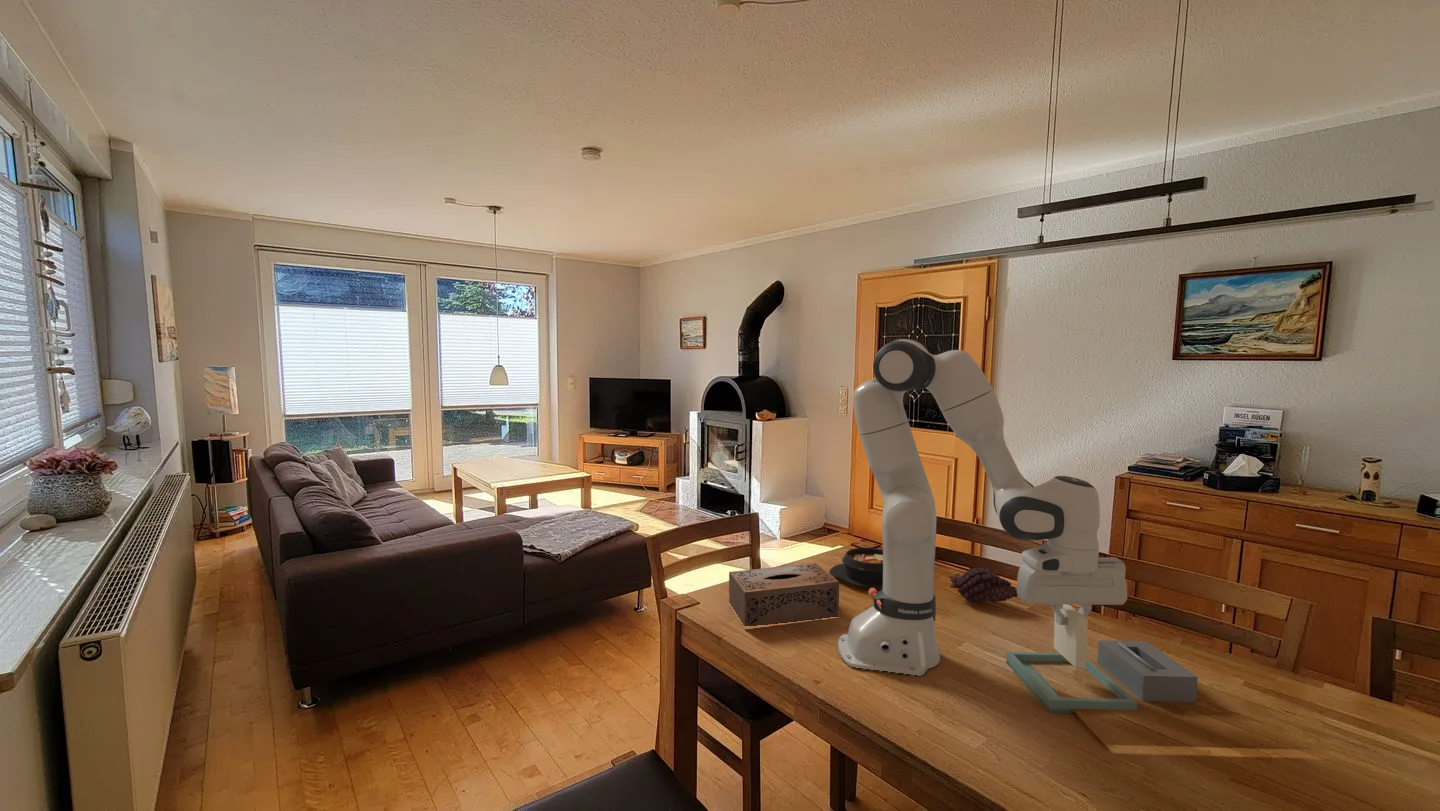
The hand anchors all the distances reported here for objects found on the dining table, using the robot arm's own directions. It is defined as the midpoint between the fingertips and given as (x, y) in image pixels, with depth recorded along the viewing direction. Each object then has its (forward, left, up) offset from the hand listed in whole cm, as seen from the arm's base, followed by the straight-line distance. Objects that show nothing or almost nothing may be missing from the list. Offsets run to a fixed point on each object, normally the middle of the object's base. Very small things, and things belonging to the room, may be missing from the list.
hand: (1070, 623), depth 115 cm
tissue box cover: (-56, +33, -14) cm, 67 cm away
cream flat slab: (0, 0, -7) cm, 7 cm away
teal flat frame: (0, 0, -13) cm, 13 cm away
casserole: (-28, +55, -14) cm, 63 cm away
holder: (+16, +1, -13) cm, 21 cm away
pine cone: (-1, +40, -14) cm, 42 cm away
